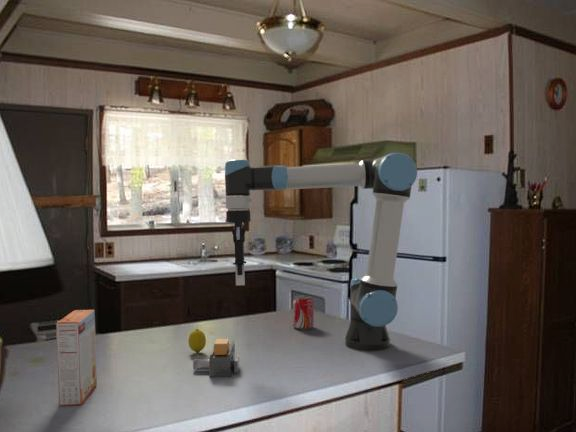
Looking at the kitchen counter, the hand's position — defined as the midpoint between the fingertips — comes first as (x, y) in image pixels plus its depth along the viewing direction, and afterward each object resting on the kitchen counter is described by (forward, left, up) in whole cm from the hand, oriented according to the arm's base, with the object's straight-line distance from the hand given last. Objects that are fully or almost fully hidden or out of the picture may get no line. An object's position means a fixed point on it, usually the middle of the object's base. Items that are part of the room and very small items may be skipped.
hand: (240, 284), depth 166 cm
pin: (+6, +12, -23) cm, 27 cm away
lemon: (+15, -6, -24) cm, 28 cm away
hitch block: (+5, +10, -23) cm, 26 cm away
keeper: (+5, +12, -18) cm, 22 cm away
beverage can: (-21, -38, -24) cm, 50 cm away
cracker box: (+40, +30, -24) cm, 55 cm away
